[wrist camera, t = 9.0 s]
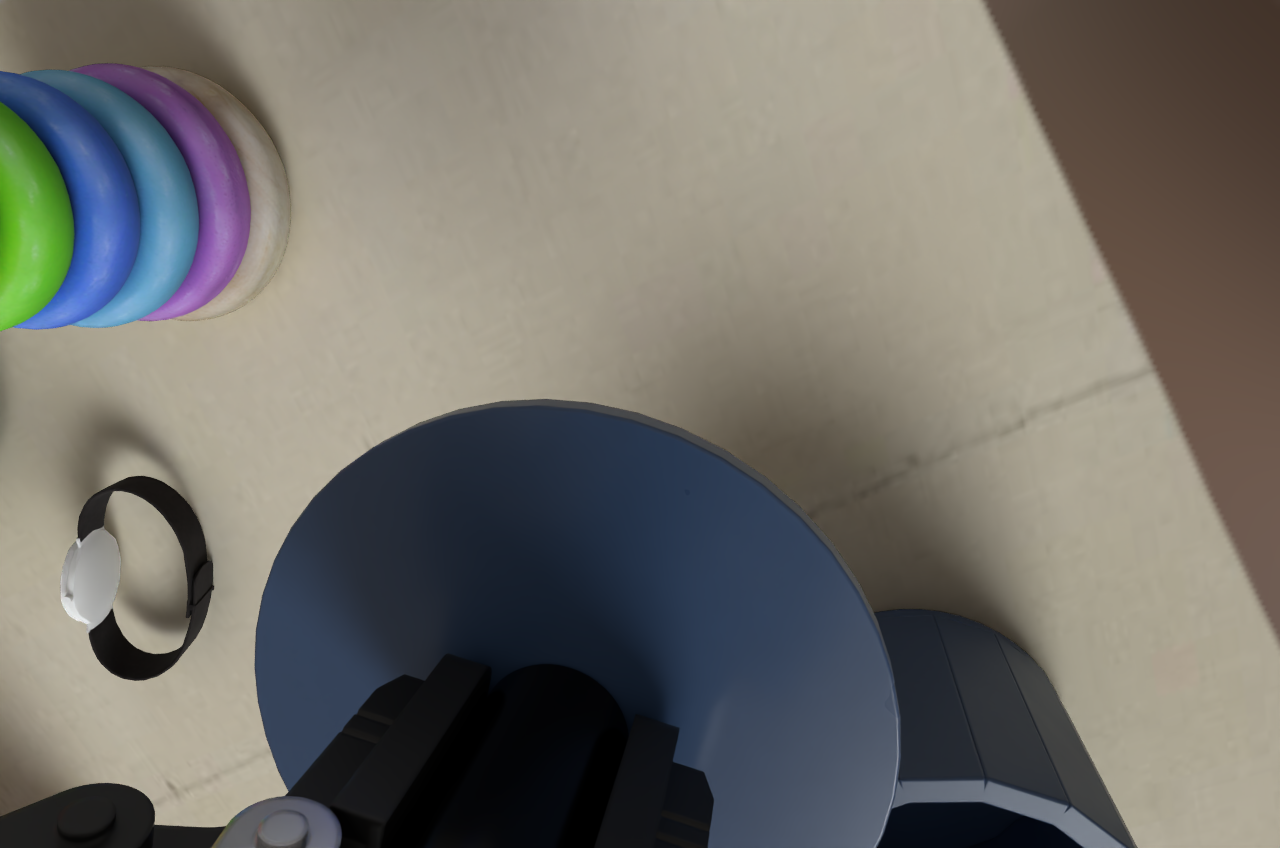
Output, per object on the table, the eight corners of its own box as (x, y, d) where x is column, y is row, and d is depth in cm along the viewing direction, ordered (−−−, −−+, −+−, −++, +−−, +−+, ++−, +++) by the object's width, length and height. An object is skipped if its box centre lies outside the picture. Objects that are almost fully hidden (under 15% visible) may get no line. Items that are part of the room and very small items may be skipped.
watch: (104, 460, 32) (21, 492, 28) (217, 477, 31) (145, 512, 28) (123, 641, 34) (46, 692, 31) (228, 660, 33) (163, 714, 30)
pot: (1114, 660, 27) (1249, 860, 19) (1004, 894, 30) (1081, 1155, 22) (813, 571, 28) (819, 725, 20) (735, 806, 31) (713, 1023, 23)
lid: (991, 499, 12) (1136, 729, 7) (787, 1018, 16) (782, 1448, 10) (327, 312, 13) (20, 390, 8) (263, 832, 17) (12, 1132, 11)
